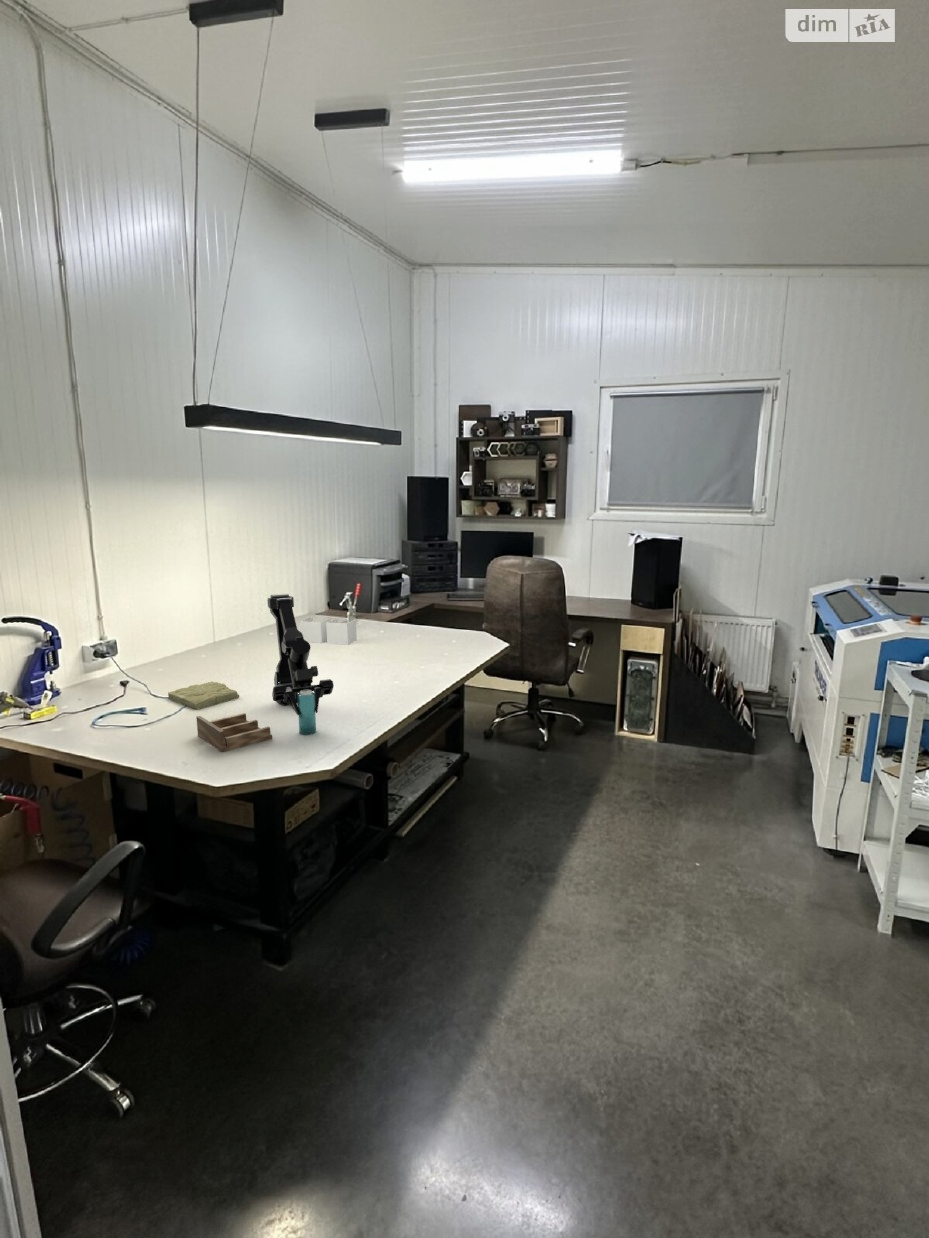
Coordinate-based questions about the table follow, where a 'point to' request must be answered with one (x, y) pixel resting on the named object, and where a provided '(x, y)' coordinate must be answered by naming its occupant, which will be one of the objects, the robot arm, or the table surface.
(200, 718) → the rack
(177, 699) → the decorative tile
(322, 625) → the storage container
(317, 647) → the table surface
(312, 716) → the spray can
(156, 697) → the table surface
